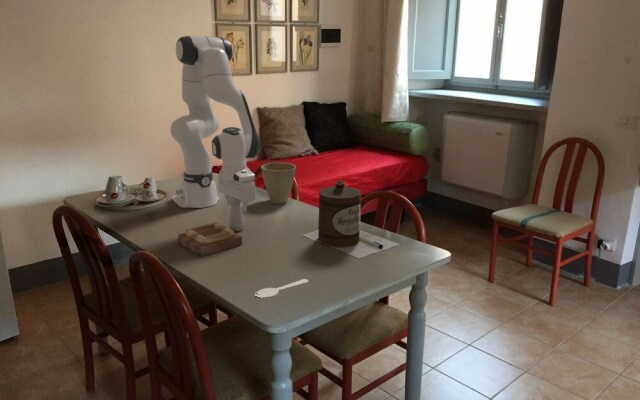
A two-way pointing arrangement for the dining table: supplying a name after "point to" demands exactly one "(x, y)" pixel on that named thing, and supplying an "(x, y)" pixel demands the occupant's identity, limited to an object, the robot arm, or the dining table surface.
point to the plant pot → (278, 180)
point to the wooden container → (339, 215)
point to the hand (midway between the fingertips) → (236, 208)
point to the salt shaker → (236, 215)
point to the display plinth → (209, 238)
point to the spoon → (277, 289)
